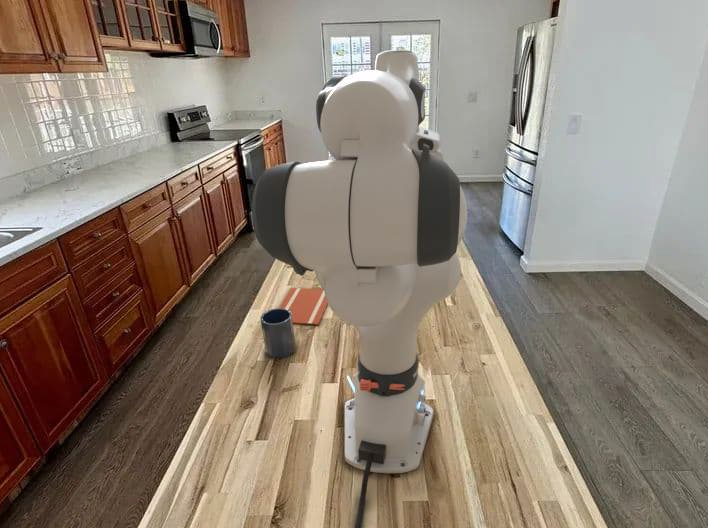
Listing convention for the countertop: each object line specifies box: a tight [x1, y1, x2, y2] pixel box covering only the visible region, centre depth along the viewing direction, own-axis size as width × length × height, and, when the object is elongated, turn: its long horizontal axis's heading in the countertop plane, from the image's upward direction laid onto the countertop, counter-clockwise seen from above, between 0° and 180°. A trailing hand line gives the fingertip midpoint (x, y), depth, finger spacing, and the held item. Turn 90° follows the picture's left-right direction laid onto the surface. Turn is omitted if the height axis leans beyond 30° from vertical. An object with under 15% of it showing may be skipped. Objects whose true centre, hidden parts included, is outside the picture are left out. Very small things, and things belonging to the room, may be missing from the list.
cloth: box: [278, 287, 328, 326], centre depth 132 cm, size 20×14×1 cm
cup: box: [260, 307, 297, 359], centre depth 111 cm, size 8×8×10 cm
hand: (397, 201), depth 96 cm, fingers open, 8 cm apart
